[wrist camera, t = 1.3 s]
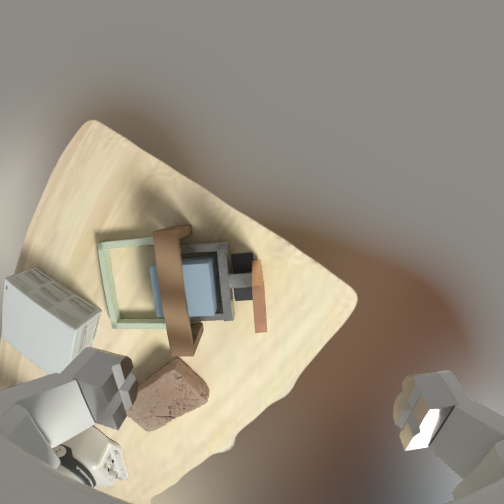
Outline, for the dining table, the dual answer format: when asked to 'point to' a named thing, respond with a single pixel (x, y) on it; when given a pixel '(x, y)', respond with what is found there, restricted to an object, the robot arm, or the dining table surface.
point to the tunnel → (175, 291)
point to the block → (193, 286)
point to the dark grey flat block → (239, 265)
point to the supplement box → (46, 320)
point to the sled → (233, 284)
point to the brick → (168, 396)
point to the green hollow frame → (111, 291)
